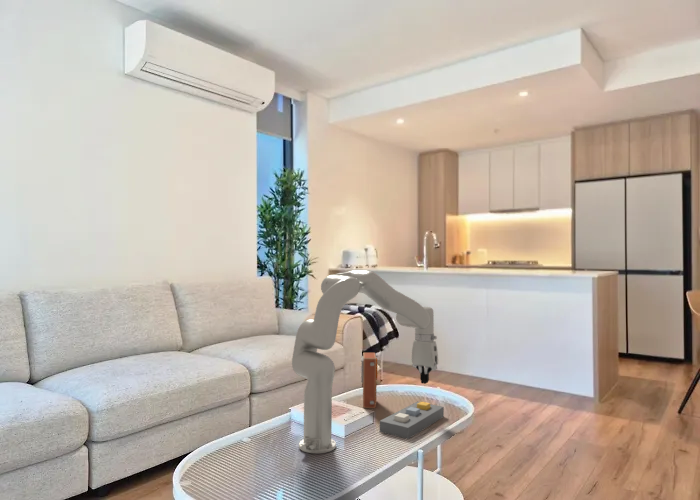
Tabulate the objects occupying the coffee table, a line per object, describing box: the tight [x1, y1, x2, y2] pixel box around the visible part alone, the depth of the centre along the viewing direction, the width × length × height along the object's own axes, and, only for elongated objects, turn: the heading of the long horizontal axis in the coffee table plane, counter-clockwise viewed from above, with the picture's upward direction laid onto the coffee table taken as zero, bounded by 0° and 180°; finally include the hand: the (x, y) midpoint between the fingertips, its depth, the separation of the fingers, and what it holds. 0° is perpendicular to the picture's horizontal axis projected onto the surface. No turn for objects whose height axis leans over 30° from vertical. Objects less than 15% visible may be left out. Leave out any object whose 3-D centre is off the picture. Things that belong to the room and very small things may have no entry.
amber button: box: [417, 401, 431, 410], centre depth 196 cm, size 4×4×3 cm
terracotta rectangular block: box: [360, 352, 378, 409], centre depth 213 cm, size 21×7×15 cm
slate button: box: [406, 407, 420, 416], centre depth 188 cm, size 4×4×3 cm
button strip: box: [379, 401, 445, 440], centre depth 188 cm, size 30×12×4 cm, turn 145°
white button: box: [394, 413, 409, 423], centre depth 181 cm, size 4×4×3 cm
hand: (424, 382), depth 196 cm, fingers closed
